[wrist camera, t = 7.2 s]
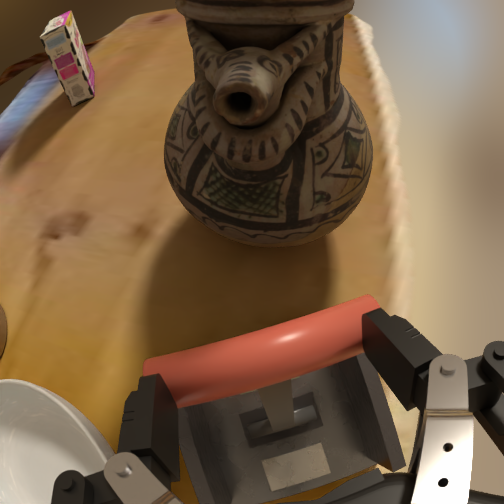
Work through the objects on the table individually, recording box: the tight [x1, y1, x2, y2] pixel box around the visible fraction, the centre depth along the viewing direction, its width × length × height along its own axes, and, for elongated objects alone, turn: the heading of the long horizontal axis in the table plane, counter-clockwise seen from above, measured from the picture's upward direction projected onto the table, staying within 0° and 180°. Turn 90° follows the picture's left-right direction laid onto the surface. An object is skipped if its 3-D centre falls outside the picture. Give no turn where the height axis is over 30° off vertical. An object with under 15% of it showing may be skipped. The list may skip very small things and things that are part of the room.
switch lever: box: [143, 294, 380, 439], centre depth 16 cm, size 2×10×13 cm, turn 106°
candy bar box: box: [40, 11, 94, 106], centre depth 40 cm, size 11×5×16 cm, turn 22°
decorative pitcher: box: [164, 0, 373, 247], centre depth 22 cm, size 22×18×25 cm
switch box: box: [178, 353, 406, 504], centre depth 21 cm, size 14×15×8 cm
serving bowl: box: [0, 379, 116, 504], centre depth 18 cm, size 21×21×7 cm
